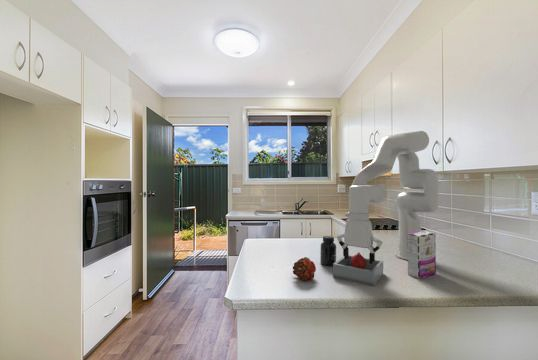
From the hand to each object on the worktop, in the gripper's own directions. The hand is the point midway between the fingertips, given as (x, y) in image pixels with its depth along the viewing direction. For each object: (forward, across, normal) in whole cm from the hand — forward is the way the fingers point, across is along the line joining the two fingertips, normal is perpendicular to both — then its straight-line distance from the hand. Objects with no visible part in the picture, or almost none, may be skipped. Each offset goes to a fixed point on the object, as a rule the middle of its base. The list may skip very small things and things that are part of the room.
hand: (358, 260), depth 102 cm
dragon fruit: (+6, -16, -15) cm, 23 cm away
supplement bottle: (+6, -15, +6) cm, 17 cm away
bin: (+6, 0, 0) cm, 6 cm away
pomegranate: (+5, 0, 0) cm, 5 cm away
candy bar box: (+6, +20, +16) cm, 26 cm away
